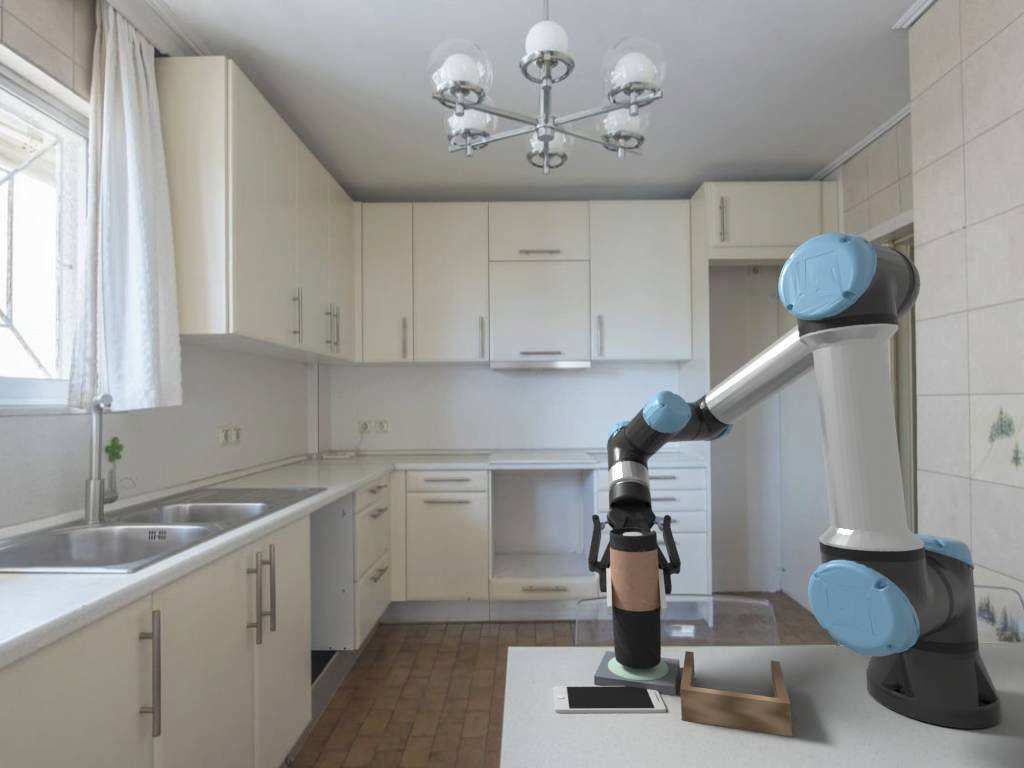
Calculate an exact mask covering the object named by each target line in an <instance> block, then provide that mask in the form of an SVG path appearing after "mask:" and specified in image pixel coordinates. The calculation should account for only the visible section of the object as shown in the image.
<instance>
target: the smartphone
mask: <svg viewBox="0 0 1024 768" xmlns="http://www.w3.org/2000/svg"><path fill="white" fill-rule="evenodd" d="M552 691H553V702H554V703H553V704H554V713H555V714H620V713H621V714H623V713H624V714H632V713H634V714H635V713H637V714H638V713H639V714H641V713H642V714H644V713H645V714H646V713H649V714H651V713H656V714H657V713H666V712H667V707H666V705H665V703H664V700H663V699H662V697H661V695H660V694H661V693H659V692H658V691H657V690H650V689H643V688H636V687H629V686H604V685H576V686H575V685H567V686H566V685H558V686H557V685H556V686H553V688H552Z"/></svg>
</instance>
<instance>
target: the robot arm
mask: <svg viewBox="0 0 1024 768" xmlns="http://www.w3.org/2000/svg"><path fill="white" fill-rule="evenodd" d="M778 277H779V278H778V285H777V287H778V295H779V299H780V301H781V304H782V305H783V307H784V308H785V309H786V310H787V311H788V312H789V313H790V314H791V315H793V316H794V317H795V318H796V322H797V324H796V325H795V326H794V327H793V328H791V329H790V330H788V331H787V332H786V333H784V334H783V335H782V336H780V337H779V338H778V339H777V340H775V341H774V342H772V344H770V345H769V346H768V347H766V348H765V349H764V350H762V351H761V352H759V353H758V354H756V355H755V356H754V357H753V358H751V359H750V360H749V361H748V362H746V363H745V364H743V365H742V366H741V367H739V368H738V369H737V370H736V371H734V372H732V373H731V374H730V375H729V376H728V377H726V378H725V379H724V380H722V381H721V382H719V383H718V384H717V385H715V387H713V388H712V389H710V390H709V391H708V392H707V393H705V394H703V396H701V397H700V398H699V399H697V400H696V401H694V402H687V401H686V400H685V399H684V398H683V397H682V396H681V395H679V394H677V393H674V392H672V391H671V390H662V391H659V392H658V393H657V394H655V395H654V397H652V398H651V399H649V400H648V401H647V402H646V403H645V404H644V406H643V407H642V408H641V409H640V410H639V411H638V412H637V414H636V415H635V416H634V417H633V418H632V419H631V420H622V421H620V422H619V423H615V424H613V425H612V426H611V427H610V429H609V430H608V433H607V441H606V442H607V443H606V453H607V470H608V473H607V475H608V510H609V511H608V512H607V514H606V515H603V516H599V515H598V514H593V515H592V516H591V521H592V529H593V531H592V536H591V543H590V547H589V554H588V560H587V562H588V563H587V564H588V570H589V572H591V573H594V572H595V573H597V574H598V579H599V580H598V582H599V586H598V587H599V592H600V593H606V611H607V613H606V614H607V616H608V615H609V616H612V586H611V569H610V540H609V541H608V544H607V546H606V548H605V550H604V551H603V554H602V557H601V559H600V561H598V559H599V552H600V547H601V541H602V531H604V530H605V528H606V525H607V524H608V525H609V526H610V528H611V530H613V529H616V528H626V527H636V528H641V529H642V530H643V531H645V532H652V530H651V529H652V528H653V527H654V525H657V527H658V529H659V531H660V532H662V538H663V541H664V545H665V549H666V552H667V557H668V559H669V561H668V560H667V558H666V556H665V555H664V552H662V551H663V550H662V549H661V548H660V546H659V544H658V543H657V551H658V571H659V596H660V618H661V617H666V618H667V612H668V611H667V609H668V607H667V598H666V597H667V595H671V594H672V588H673V586H672V578H671V577H672V575H673V574H675V575H677V574H678V575H679V574H680V572H681V565H682V562H681V559H680V555H679V551H678V549H677V545H676V541H675V539H674V535H673V531H672V528H671V527H672V526H671V525H672V516H671V515H669V514H665V515H664V516H662V517H661V516H657V515H656V514H655V513H654V511H653V507H652V498H651V497H652V496H651V495H652V494H651V485H650V483H651V482H650V475H649V474H650V473H649V466H648V463H649V462H648V461H649V459H650V458H651V457H653V456H654V455H655V454H657V453H658V451H659V450H660V449H662V447H664V446H665V445H666V444H667V443H676V442H677V443H679V442H680V443H682V442H695V441H697V442H698V441H699V442H700V441H705V442H712V441H716V440H719V439H720V440H721V439H723V438H725V437H726V436H728V435H729V433H730V432H731V430H732V428H733V425H734V424H735V423H737V422H738V421H739V420H741V419H742V418H743V417H745V416H747V415H748V414H750V413H751V412H753V411H755V410H756V409H758V407H760V406H762V405H763V404H765V403H766V402H767V401H769V400H771V399H773V398H774V397H775V396H777V395H778V394H780V393H781V392H783V391H784V390H786V389H787V388H789V387H790V386H791V385H793V384H794V383H796V382H798V381H799V380H800V379H802V378H803V377H806V376H807V375H809V373H811V372H813V371H814V375H815V383H816V384H815V386H816V393H817V394H816V396H817V405H818V413H819V426H820V435H821V444H822V446H821V447H822V455H823V461H824V462H823V465H824V473H825V475H824V476H825V482H826V484H825V485H826V493H827V504H828V511H829V512H828V513H829V524H830V525H829V526H828V529H826V531H824V532H823V533H822V534H821V535H820V536H819V541H818V542H819V550H820V560H821V561H820V562H821V564H820V565H819V566H818V567H817V568H816V569H815V570H814V572H813V573H812V575H811V576H810V578H809V580H808V581H809V582H808V584H807V585H808V586H807V598H808V602H809V605H810V606H809V607H810V609H811V611H812V613H813V615H814V617H815V619H816V620H817V621H818V624H819V625H820V626H821V627H822V629H824V630H826V632H828V634H829V635H830V636H831V637H832V639H833V640H835V641H836V642H838V644H840V645H841V646H843V647H845V648H847V649H849V650H850V651H853V652H855V653H858V654H861V655H863V656H869V657H870V659H869V662H868V665H867V668H866V672H865V673H866V674H865V678H866V689H867V692H868V694H869V695H870V696H871V697H872V698H873V699H874V700H875V701H877V702H878V703H880V704H881V705H883V706H884V707H886V708H888V709H889V710H892V711H894V712H896V713H899V714H901V715H903V716H906V717H908V718H911V719H915V720H917V721H921V722H925V723H928V724H933V725H937V726H944V727H949V728H959V729H983V728H984V729H985V728H989V727H993V726H995V725H997V724H998V723H1000V721H1002V706H1001V700H1000V696H999V694H998V692H997V690H996V686H995V684H994V682H993V680H992V678H991V676H990V674H989V672H988V669H987V667H986V665H985V662H984V661H983V658H982V656H981V653H980V646H979V633H978V631H979V630H978V618H977V608H976V607H977V606H976V594H975V593H976V592H975V579H974V578H975V576H974V570H975V565H974V563H973V559H972V555H971V554H972V553H971V549H970V547H969V546H968V545H967V543H965V542H963V541H961V540H959V539H954V538H949V537H943V536H935V535H928V534H920V533H913V531H912V530H910V529H909V527H908V526H909V525H908V520H907V512H906V505H905V503H906V502H905V493H904V486H903V477H902V470H901V469H902V468H901V467H902V466H901V460H900V452H899V444H898V434H897V424H896V416H895V407H894V400H893V392H892V384H891V383H892V382H891V372H890V365H889V355H888V349H887V344H888V341H889V340H890V339H891V338H892V337H893V336H894V335H895V334H896V333H897V331H898V330H899V321H901V320H902V319H903V318H904V317H905V316H906V315H907V314H908V313H909V312H910V311H911V310H912V308H913V307H914V306H915V304H916V302H917V300H918V297H919V294H920V290H921V289H920V288H921V277H920V272H919V270H918V268H917V266H916V264H915V263H914V261H913V260H912V259H911V258H910V257H909V256H907V254H906V253H904V252H902V251H900V250H898V249H896V248H893V247H890V246H886V245H881V244H878V243H875V242H871V241H869V240H868V239H866V238H865V237H863V236H861V235H857V234H854V233H849V234H847V233H843V232H829V233H824V234H820V235H817V236H814V237H812V238H809V239H808V240H806V241H805V242H803V243H802V244H800V245H799V246H798V247H797V248H796V249H795V250H794V251H793V252H792V254H791V255H790V257H789V258H788V259H787V260H786V261H785V263H784V264H783V266H782V269H781V271H780V275H779V276H778Z"/></svg>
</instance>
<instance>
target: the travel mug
mask: <svg viewBox="0 0 1024 768" xmlns="http://www.w3.org/2000/svg"><path fill="white" fill-rule="evenodd" d="M609 541H610V569H611V586H612V615H611V617H612V619H611V620H612V629H613V633H612V634H613V646H614V652H615V658H616V661H617V662H618V663H620V664H622V665H624V666H627V667H631V668H638V669H645V668H652V667H655V666H657V665H658V664H659V663H660V661H661V655H662V651H661V650H662V645H661V642H662V641H661V639H662V637H661V636H662V635H661V633H662V632H661V631H662V630H661V628H662V627H661V610H660V596H659V571H658V551H657V544H658V535H657V531H656V530H651V532H645V531H643V530H642V529H641V528H636V527H626V528H616V529H611V530H609Z"/></svg>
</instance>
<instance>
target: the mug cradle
mask: <svg viewBox="0 0 1024 768" xmlns="http://www.w3.org/2000/svg"><path fill="white" fill-rule="evenodd" d="M684 653H685V654H684V661H683V668H682V675H681V683H680V690H679V691H680V692H679V693H680V710H681V711H680V712H681V713H680V715H681V720H682V721H686V722H687V721H688V722H693V723H699V724H707V725H713V726H718V727H719V726H720V727H726V728H732V729H737V730H739V729H740V730H745V731H753V732H758V733H765V734H771V735H778V736H785V737H789V738H790V737H791V738H793V728H792V712H791V711H792V710H791V702H790V697H789V693H788V689H787V685H786V681H785V678H784V674H783V670H782V666H781V663H780V661H775V660H770V670H771V671H770V672H771V689H772V693H773V697H771V696H766V695H758V694H757V695H756V694H749V693H743V692H742V693H741V692H734V691H727V690H720V689H719V690H718V689H713V688H704V687H696V686H695V682H696V675H695V674H696V673H695V672H696V671H695V652H694V651H687V650H686V651H685V652H684Z"/></svg>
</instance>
